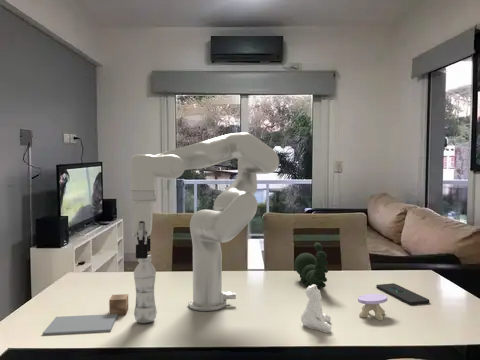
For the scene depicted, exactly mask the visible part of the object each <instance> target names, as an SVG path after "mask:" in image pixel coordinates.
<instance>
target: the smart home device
mask: <svg viewBox="0 0 480 360" xmlns="http://www.w3.org/2000/svg"><path fill="white" fill-rule="evenodd" d="M375 287H376V289H377V290H379V291H381V292H383V293H384V294H386V295H389V296H390V297H393V298H395V299H397V300H398V301H401V302H402V303H405V304H406V305H408V306H416V305H417V304H419V305H425V304H426V305H427V304H428V303H429V304H430V299H429V298H427V297H424V296H422V295H420V294H418V293H417V292H414V291H411V290H409V289H407V288H405V287H403V286H401V285H398V284H396V283H383V284H376V286H375ZM417 306H418V305H417Z"/></svg>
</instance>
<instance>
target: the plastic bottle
mask: <svg viewBox="0 0 480 360" xmlns="http://www.w3.org/2000/svg"><path fill="white" fill-rule="evenodd" d="M137 262H138V264H137V265H136V267H135V268H134V271H133V279H134V285H135V306H134V312H133V314H134V320H135V321H136V322H137V323H140V324H149V323H152V322H153V321H155V319H156V318H157V313H158V312H157V305H156V300H155V297H156V296H155V283H156V277H157V276H156V275H157V271H156V268H155V267H154V265H153V264H152V263H151V262H152V254H151V253H148V257H147V258H146V259H138V260H137Z"/></svg>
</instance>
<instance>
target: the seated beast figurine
mask: <svg viewBox="0 0 480 360" xmlns="http://www.w3.org/2000/svg"><path fill="white" fill-rule="evenodd" d="M305 294H306V297H307V298H308V301H307V303H306V307H305V309H303V311H302V313H301V316H300V318H301V319H300V321H301V323H302V325H304V326H305V327H306V328H307V329H309V330H315V331H320V332H323V333H327V334H328V333H331V332H332V325H331V324H330V323H331V319H332V317H331V315H329V314H327V313H324V312H323V306H322V304H321V300H322V298H323V297H322V293H321V290H320V289H318V286H317V285H316V284H315V285H314V284H312V285H311V286H308V287H306V289H305Z"/></svg>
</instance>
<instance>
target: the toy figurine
mask: <svg viewBox="0 0 480 360" xmlns="http://www.w3.org/2000/svg"><path fill="white" fill-rule="evenodd" d="M313 247H314V249H315V250H316V254H315V255H314V254H312V253H309V252H303V253H300V254H299V255H297V256H296V258H295V260H294V263H293V264H294V268H295V271H296V273H297V274H298V275H299V278H300V282H301V283H303V284H305V285H304V286H305V287H306V288H307V287H308V286H311V285H312V284H314V285H315V284H316V285H317V287H319V288H321V289H323V288H326V286H327V284H326V282H327V281H328V278H327V277H326V274H327V273H329V270H328V268H327V267H326V265H329V262H328V261H327V258H328V254H326V252H325V251H323V245H322V244H321V243H320V242H315V243H313Z"/></svg>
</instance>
